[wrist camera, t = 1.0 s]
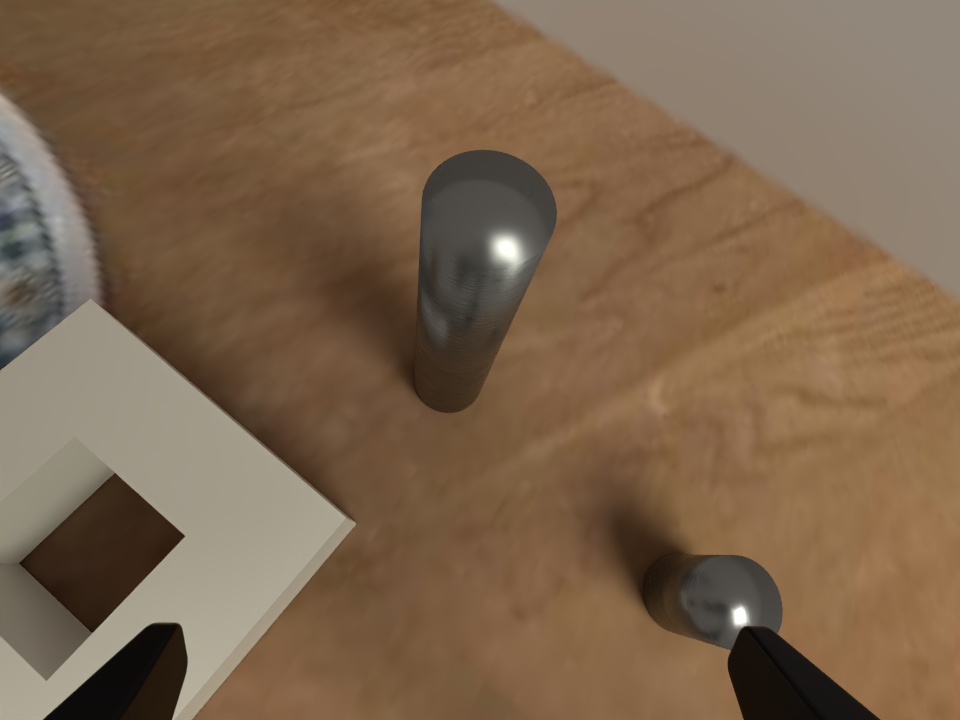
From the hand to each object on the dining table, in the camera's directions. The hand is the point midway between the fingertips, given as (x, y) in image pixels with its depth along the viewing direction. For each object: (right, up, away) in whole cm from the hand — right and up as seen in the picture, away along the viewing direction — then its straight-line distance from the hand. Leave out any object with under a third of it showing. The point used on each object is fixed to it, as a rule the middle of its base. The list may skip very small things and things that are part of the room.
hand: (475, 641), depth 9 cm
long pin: (-1, +4, +15) cm, 16 cm away
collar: (-13, -3, +12) cm, 18 cm away
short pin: (+8, -5, +14) cm, 17 cm away
